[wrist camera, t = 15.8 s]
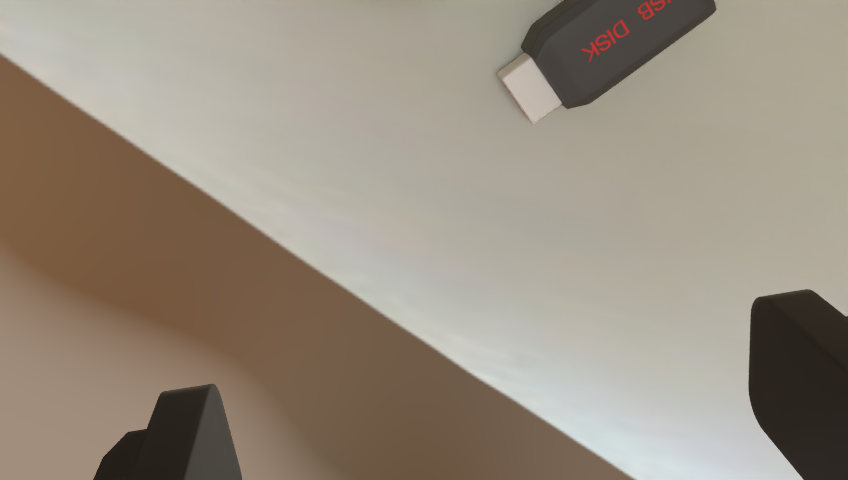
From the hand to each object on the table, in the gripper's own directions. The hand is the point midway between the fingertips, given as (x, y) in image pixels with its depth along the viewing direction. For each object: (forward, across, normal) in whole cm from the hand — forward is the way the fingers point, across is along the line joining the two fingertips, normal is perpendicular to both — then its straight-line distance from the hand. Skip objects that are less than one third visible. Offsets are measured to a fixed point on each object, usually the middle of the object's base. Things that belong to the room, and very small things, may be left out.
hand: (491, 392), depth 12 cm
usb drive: (+36, -12, +1) cm, 38 cm away
